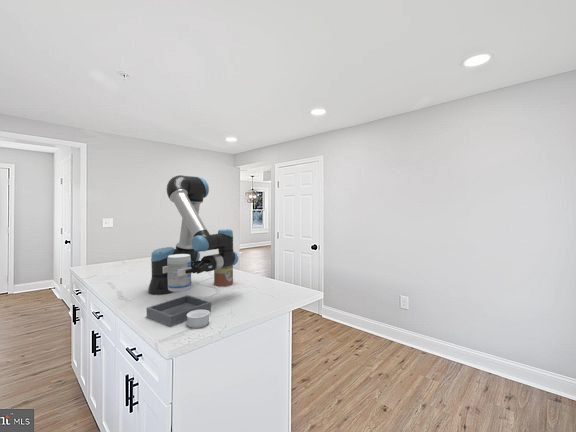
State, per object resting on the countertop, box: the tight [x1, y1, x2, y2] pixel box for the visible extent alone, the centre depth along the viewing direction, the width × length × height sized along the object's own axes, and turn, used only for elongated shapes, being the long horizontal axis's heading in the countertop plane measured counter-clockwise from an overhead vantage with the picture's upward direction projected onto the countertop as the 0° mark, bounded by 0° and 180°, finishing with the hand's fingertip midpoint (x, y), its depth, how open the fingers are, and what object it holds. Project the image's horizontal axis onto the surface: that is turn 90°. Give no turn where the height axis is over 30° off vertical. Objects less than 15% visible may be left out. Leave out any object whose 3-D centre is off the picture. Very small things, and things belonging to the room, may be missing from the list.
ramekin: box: [187, 310, 211, 329], centre depth 112 cm, size 9×9×4 cm
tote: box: [146, 295, 212, 327], centre depth 122 cm, size 17×20×4 cm
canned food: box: [213, 265, 234, 288], centre depth 169 cm, size 11×11×12 cm
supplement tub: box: [167, 254, 192, 293], centre depth 121 cm, size 10×10×15 cm
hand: (170, 271), depth 117 cm, fingers closed on supplement tub, 9 cm apart
